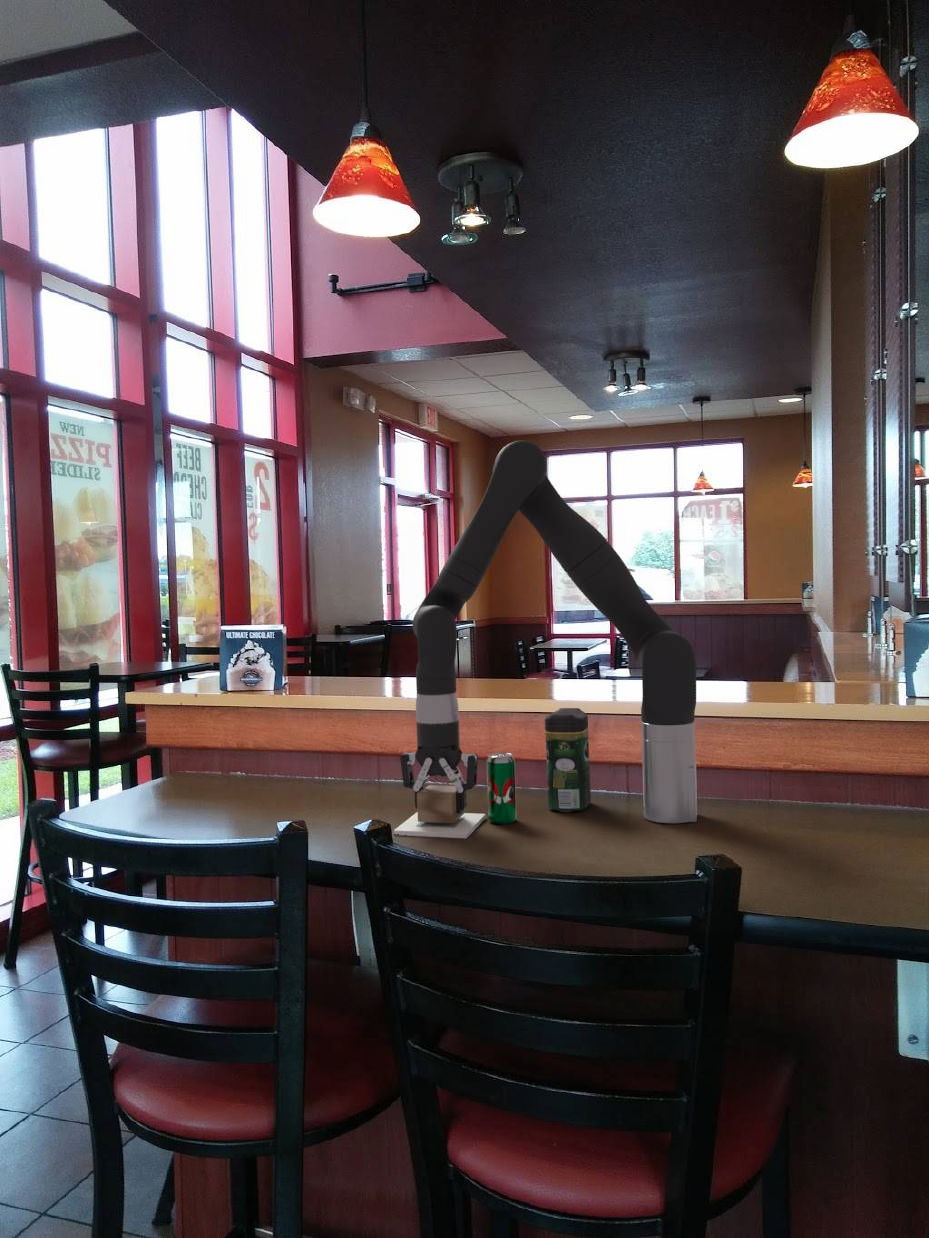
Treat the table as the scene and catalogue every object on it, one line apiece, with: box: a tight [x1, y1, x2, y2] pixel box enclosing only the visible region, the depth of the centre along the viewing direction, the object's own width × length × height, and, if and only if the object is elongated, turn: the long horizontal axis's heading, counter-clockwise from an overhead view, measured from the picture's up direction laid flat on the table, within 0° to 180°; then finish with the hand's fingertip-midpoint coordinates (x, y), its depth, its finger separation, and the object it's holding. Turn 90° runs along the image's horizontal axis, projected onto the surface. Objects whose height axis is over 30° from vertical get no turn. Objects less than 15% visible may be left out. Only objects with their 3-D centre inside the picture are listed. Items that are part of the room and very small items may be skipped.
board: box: [393, 811, 487, 839], centre depth 163 cm, size 13×13×1 cm
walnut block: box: [416, 784, 465, 823], centre depth 162 cm, size 6×6×5 cm
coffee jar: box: [544, 707, 592, 813], centre depth 173 cm, size 10×8×19 cm
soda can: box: [486, 752, 518, 825], centre depth 164 cm, size 5×5×12 cm
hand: (440, 811), depth 163 cm, fingers closed on walnut block, 6 cm apart
